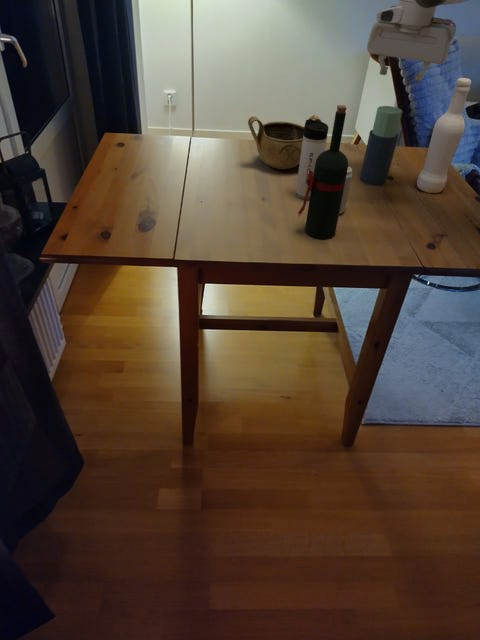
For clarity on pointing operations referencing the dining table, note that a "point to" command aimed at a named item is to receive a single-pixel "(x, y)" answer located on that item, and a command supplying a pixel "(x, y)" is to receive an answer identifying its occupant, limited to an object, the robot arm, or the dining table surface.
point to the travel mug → (310, 153)
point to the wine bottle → (327, 185)
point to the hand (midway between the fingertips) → (400, 77)
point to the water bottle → (377, 159)
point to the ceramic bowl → (279, 142)
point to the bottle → (444, 141)
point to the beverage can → (346, 190)
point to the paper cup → (387, 121)
